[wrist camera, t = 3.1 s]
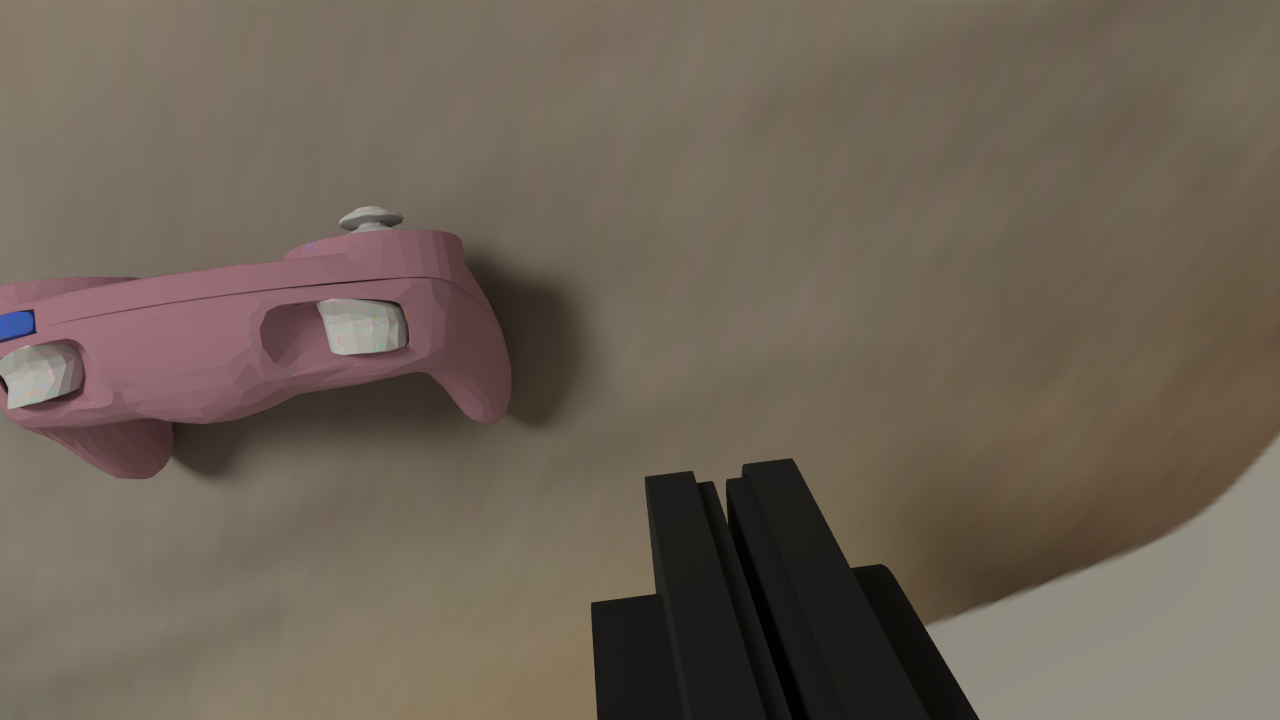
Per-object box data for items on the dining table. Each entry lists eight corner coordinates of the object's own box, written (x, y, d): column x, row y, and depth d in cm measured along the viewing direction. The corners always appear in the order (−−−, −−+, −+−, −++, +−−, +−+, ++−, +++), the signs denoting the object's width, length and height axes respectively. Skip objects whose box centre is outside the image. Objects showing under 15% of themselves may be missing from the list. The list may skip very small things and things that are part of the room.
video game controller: (503, 239, 21) (436, 160, 14) (530, 417, 21) (475, 426, 14) (115, 300, 21) (-140, 250, 14) (138, 479, 21) (-110, 518, 14)
